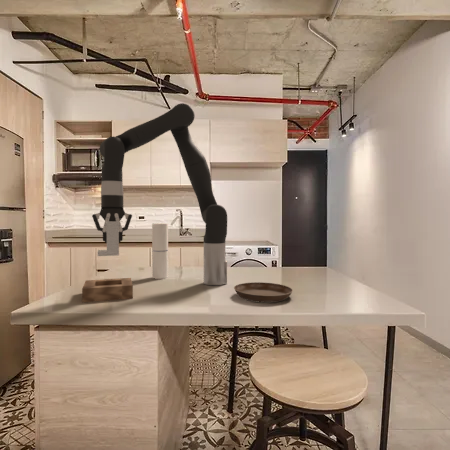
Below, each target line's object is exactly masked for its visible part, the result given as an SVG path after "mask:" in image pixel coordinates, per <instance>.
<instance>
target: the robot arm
mask: <svg viewBox="0 0 450 450" xmlns="http://www.w3.org/2000/svg"><path fill="white" fill-rule="evenodd" d="M194 121H195V110H194V109H193V108H192V106H191V105H190V104H188V103H178V104H175V106H174V107H173V106H172V108H171V109H170V110H168V111H167V112H165V113H163V114H161V115H159V116H157V117H155V118H152V119H151V120H148V121H146V122H143V123H141V124H139V125H136V126H134V127H131V128H129V129H127V130H125V131H124V132H122V133H121V134H118V135H116V136H114V135H113V136H109V137H107V138H106V139H104V140H103V141H102V142H101V143H100V145H99V153H100V155H101V156H102V157H103V165H102V166H101V185H100V204H101V205H100V211H99V212H97V213H94V214H92V215H91V216H92V219H93V223H94V225H95V227H96V230H97V231H100V232H102V241H103V242H104V243H105V244H107V223H106V221H119V243H121V242H122V241H123V239H124V238H123V237H124V236H123V235H124V234H123V232H125V231H127V230H129V226H130V223H131V220H132V218H133V215H132V214H130V213H127V212H125V210H124V184H123V167H124V161H125V154H126V153H128V152H130V151H132V150H135V149H137V148H140V147H143V146H144V145H146V144H149V143H150V142H152V141H154V140H156V139H157V138H159V137H160V136H162V135H164V134H165V133H167V132H169V131H170V132H171V134H172V137H173V139H174V142H175V143H176V146H177V148H178V151H179V155H180V157H181V160H182V163H183V165H184V168H185V171H186V174H187V177H188V179H189V181H190V184H191V187H192V189H193V192H194V194H195V196H196V198H197V202H198V203H197V204H198V206H199V210H200V214H201V218H202V221H203V222H204V223H205V232H204V235H203V284H204V285H206V286H207V285H208V286H221V285H226V284H228V261H227V260H226V238H227V235H228V213H227V209H226V208H225V207H224V206H222V205H221V204H218V202H217V200H216V197H215V195H214V193H213V187H212V186H213V185H212V176H211V171H210V168H209V165H208V162H207V159H206V156H205V155H204V153H202V151H201V150H200V149H199V148H198V146H197V145H196V144H195V142H194V140H193V138H192V136H191V133H190V129H189V127H190V126H191V125H192V124H193V123H194ZM100 217H101V218H102V219H103V220H104V223H103V227H101V224H100V222H99V219H100ZM123 218H125V220H126V221H125V224H124V226H123V227H122V223H121V221H122V219H123Z"/></svg>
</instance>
